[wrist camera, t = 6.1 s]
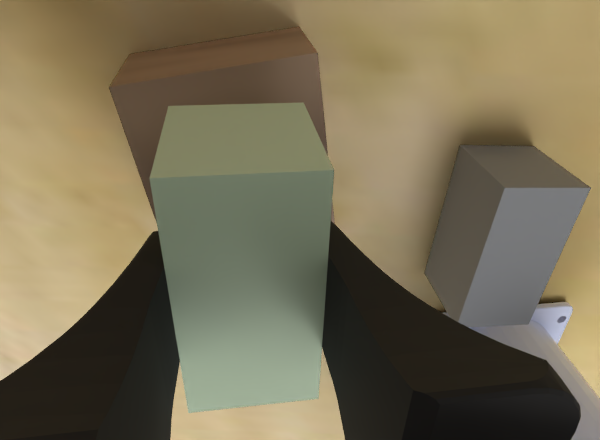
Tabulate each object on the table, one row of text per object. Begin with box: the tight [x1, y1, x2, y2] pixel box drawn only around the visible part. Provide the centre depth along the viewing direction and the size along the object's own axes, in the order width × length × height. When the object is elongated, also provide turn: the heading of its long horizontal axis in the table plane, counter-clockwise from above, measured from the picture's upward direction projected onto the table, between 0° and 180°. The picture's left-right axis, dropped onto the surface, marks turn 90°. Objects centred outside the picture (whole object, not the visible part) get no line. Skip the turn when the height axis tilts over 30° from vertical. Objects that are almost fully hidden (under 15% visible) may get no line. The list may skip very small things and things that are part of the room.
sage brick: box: [150, 102, 334, 413], centre depth 13 cm, size 7×4×4 cm, turn 179°
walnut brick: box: [109, 27, 335, 224], centre depth 17 cm, size 8×6×4 cm
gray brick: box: [425, 145, 591, 327], centre depth 21 cm, size 7×4×4 cm, turn 175°
